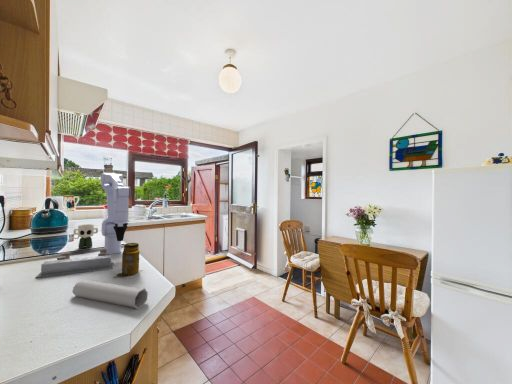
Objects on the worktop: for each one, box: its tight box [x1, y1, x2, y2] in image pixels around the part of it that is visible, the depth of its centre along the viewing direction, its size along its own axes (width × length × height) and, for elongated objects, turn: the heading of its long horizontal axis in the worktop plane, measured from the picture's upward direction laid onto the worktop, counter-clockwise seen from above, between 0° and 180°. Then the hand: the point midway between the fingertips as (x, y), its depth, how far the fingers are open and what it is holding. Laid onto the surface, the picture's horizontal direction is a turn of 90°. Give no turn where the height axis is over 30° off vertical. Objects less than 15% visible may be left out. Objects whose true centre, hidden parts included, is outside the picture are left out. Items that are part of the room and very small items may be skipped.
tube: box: [72, 279, 149, 310], centre depth 66 cm, size 5×5×25 cm
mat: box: [34, 261, 115, 279], centre depth 89 cm, size 8×24×1 cm, turn 120°
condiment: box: [113, 242, 144, 279], centre depth 86 cm, size 7×8×12 cm
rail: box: [40, 254, 112, 275], centre depth 89 cm, size 4×22×4 cm, turn 120°
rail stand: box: [56, 248, 108, 260], centre depth 97 cm, size 8×20×4 cm, turn 120°
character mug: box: [73, 223, 99, 249], centre depth 122 cm, size 11×7×13 cm, turn 125°
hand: (120, 239), depth 103 cm, fingers open, 7 cm apart
